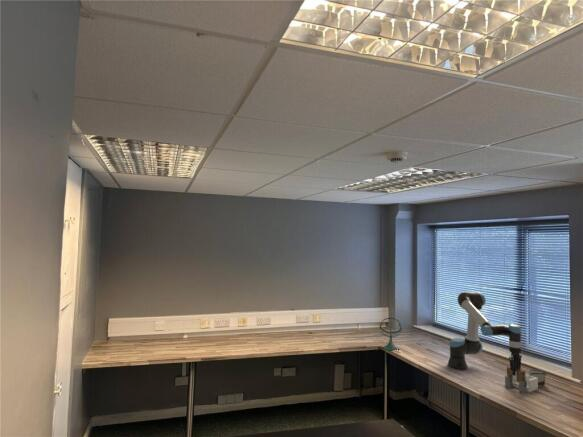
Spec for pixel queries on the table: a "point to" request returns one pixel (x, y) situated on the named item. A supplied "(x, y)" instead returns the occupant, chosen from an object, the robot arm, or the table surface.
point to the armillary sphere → (390, 345)
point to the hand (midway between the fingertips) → (515, 379)
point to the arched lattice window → (538, 376)
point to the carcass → (523, 387)
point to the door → (519, 374)
